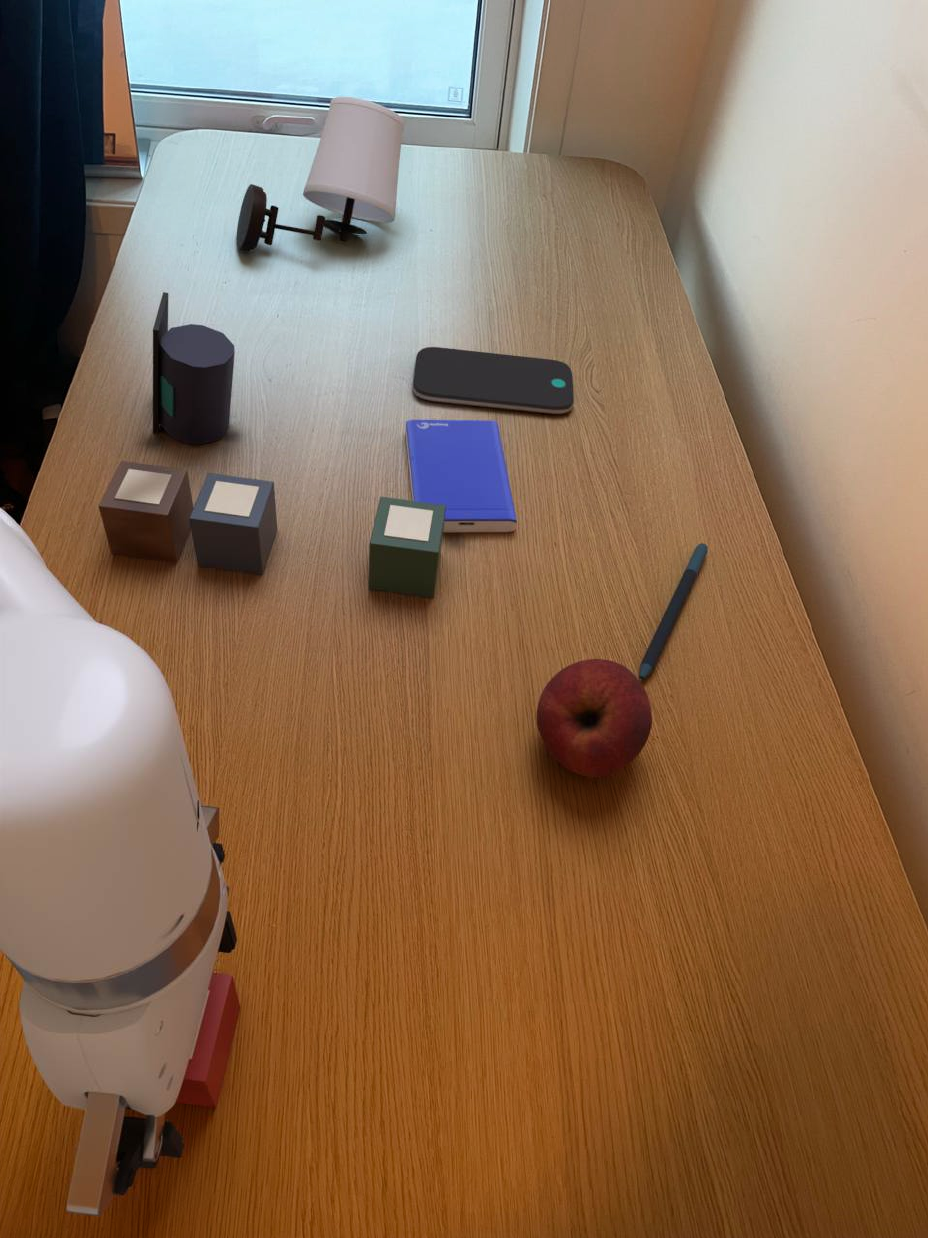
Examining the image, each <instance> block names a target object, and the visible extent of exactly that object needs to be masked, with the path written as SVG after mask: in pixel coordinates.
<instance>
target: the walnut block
mask: <svg viewBox="0 0 928 1238" xmlns="http://www.w3.org/2000/svg"><path fill="white" fill-rule="evenodd" d="M193 508H194V503H193V497H192V491H191V484H190V479H189V473H188V470H187V469H183V468H176V467H168V466H161V465H154V464H147V463H139V462H133V461H126V460H121V461H120V462H119V464H118V466H117V469H116V470H115V472H114V474H113V476H112V478H111V480H110V482H109V484H108V486H107V488H106V489H105V492H104V494H103V496H102V498H101V500H100V502H99V504H98V510H99V513H100V517H101V522H102V525H103V528H104V532H105V535H106V539H107V542H108V546H109V551H110V553H111V554H112V555H115V556H116V555H117V556H124V557H132V558H140V559H147V560H154V561H160V562H168V563H176V564H177V563H178V561H179V559H180V557H181V555H182V551H183V549H184V547H185V544H186V542H187V539H188V536H189V534H190V532H191V526H190V520H189V518H190V515H191V513H192V510H193Z"/></svg>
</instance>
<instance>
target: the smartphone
mask: <svg viewBox="0 0 928 1238" xmlns="http://www.w3.org/2000/svg"><path fill="white" fill-rule="evenodd" d="M414 363H415V364H414V371H413V380H412V390H413V391H412V392H413V393H414V395H415V396H416V397H417V398H419V399H421V400H424V401H427V402H431V403H432V402H434V403H443V404H452V405H460V406H461V405H462V406H471V407H481V408H489V409H490V408H491V409H499V410H509V411H516V412H517V411H519V412H528V413H538V414H547V415H563V414H568V413H569V412H570V411H571V410H572V409H573V405H574V400H575V399H574V398H575V397H574V380H573V379H574V378H573V372H572V369H571V368H570V366H569V365H568V364H567V363H565V362H563V361H560V360H556V359H550V358H541V357H531V356H524V355H523V356H522V355H513V354H505V353H504V354H503V353H495V352H494V353H493V352H486V351H475V350H468V349H467V350H466V349H459V348H458V349H457V348H448V347H440V346H427V347H424V348H422V349H421V348H420V350H419V351H417V353H416V357H415V362H414Z"/></svg>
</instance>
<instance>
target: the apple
mask: <svg viewBox="0 0 928 1238" xmlns="http://www.w3.org/2000/svg"><path fill="white" fill-rule="evenodd" d="M536 725H537V729H538V730H537V731H538V733H539V736H540V738H541V740H542V743H543V744H544V746H545V748H546V750H547V751H548V752H549V754H550V755H551V756H552V757H553V758H554V759H555V760H556V761H557V762H558V763H559V764H560V765H562V767H564V768H566V769H567V770H569V771H570V772H571V773H572V772H573V773H574V774H578V775H580V776H583V777H584V776H585V777H589V778H599V777H606V776H609V775H612V774H615V773H617V772H619V771H621V770H622V769H624V768H625V767H626V766H629V764H630V763H632V762H633V761H634V760H635V759H636V758H637V757H638V756H639V754H640V753H641V752H642V750H643V749H644V747H645V745H646V744H647V741H648V739H649V737H650V733H651V730H652V727H653V713H652V707H651V702H650V698H649V694H648V693H647V691H646V689H645V688H644V685H643V684H642V683H641V681H640V679H638V677H637V676H636V675H635V674H634V673H633V672H632V670H630V669H629V668H628V667H626V666H625V665H623V664H621V663H619V662H617V661H613V660H609V659H603V658H589V659H588V658H587V659H583V660H580V661H576V662H573V663H570V664H569V665H566V666H565V667H563V668H562V669H560V670H559V671H558V672H557V673H556V674H555V675H553V677H551V679H550V680H549V681H548V682H547V684H546V685H545V686H544V688H543V689H542V692H541V694H540V697H539V699H538V702H537V708H536Z"/></svg>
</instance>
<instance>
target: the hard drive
mask: <svg viewBox="0 0 928 1238" xmlns="http://www.w3.org/2000/svg"><path fill="white" fill-rule="evenodd" d="M498 423H499V422H498V421H496V420H491V419H490V420H489V419H487V420H486V419H409V420H406V421H405V429H404V430H405V432H404V433H405V442H406V443H405V444H406V452H407V461H408V472H409V481H410V482H409V483H410V491H411V492H410V493H411V501H417V502H424V503H431V504H439V505H445V506H446V512H445V521H444V529H443V533H510V532H514V531H516V528H517V523H518V520H517V515H516V510H515V504H514V499H513V493H512V489H511V485H510V479H509V473H508V469H507V463H506V459H505V453H504V448H503V442H502V439H501V438H502V437H501V433H500V428H499V424H498Z"/></svg>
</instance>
